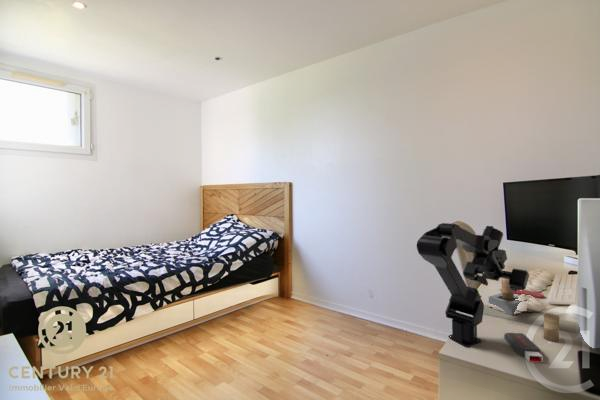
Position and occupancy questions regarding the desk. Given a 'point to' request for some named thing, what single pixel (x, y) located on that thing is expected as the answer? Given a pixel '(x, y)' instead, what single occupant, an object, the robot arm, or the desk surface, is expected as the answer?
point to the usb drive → (524, 346)
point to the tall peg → (507, 290)
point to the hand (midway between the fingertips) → (501, 287)
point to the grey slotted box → (505, 303)
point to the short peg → (551, 327)
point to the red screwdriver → (529, 293)
